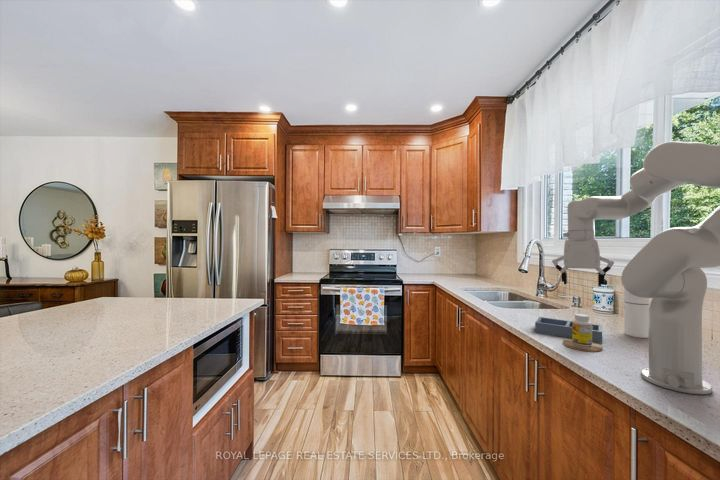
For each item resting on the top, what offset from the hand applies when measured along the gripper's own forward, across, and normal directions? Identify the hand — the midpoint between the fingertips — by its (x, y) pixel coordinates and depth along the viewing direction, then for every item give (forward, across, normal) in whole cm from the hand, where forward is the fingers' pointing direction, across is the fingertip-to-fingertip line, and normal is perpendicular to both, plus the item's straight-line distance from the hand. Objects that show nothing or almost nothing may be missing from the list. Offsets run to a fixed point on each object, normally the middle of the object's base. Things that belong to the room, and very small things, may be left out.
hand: (582, 284), depth 104 cm
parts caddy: (+21, -6, +14) cm, 26 cm away
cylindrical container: (+22, +16, +29) cm, 40 cm away
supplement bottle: (+21, 0, 0) cm, 21 cm away
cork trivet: (+21, 0, 0) cm, 21 cm away
